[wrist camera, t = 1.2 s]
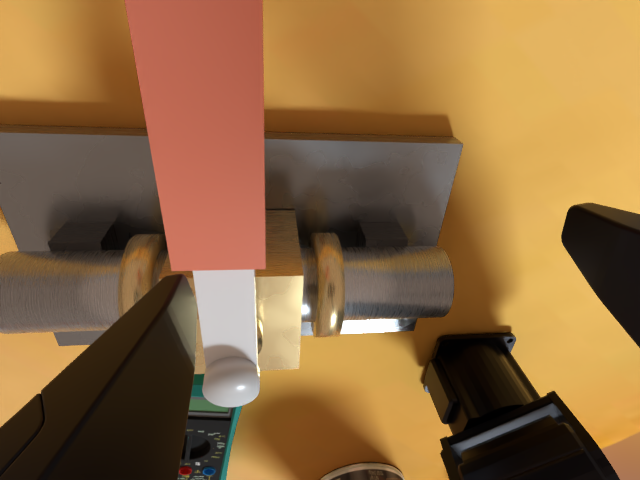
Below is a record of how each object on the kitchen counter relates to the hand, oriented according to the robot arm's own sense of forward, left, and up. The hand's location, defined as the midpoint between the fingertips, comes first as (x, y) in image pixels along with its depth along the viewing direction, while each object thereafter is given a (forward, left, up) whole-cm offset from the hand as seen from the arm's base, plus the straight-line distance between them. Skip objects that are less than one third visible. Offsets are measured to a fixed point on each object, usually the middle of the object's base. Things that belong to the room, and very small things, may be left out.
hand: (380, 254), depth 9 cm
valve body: (+4, +8, -13) cm, 16 cm away
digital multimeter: (+9, +26, -14) cm, 31 cm away
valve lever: (+4, +1, -5) cm, 7 cm away
